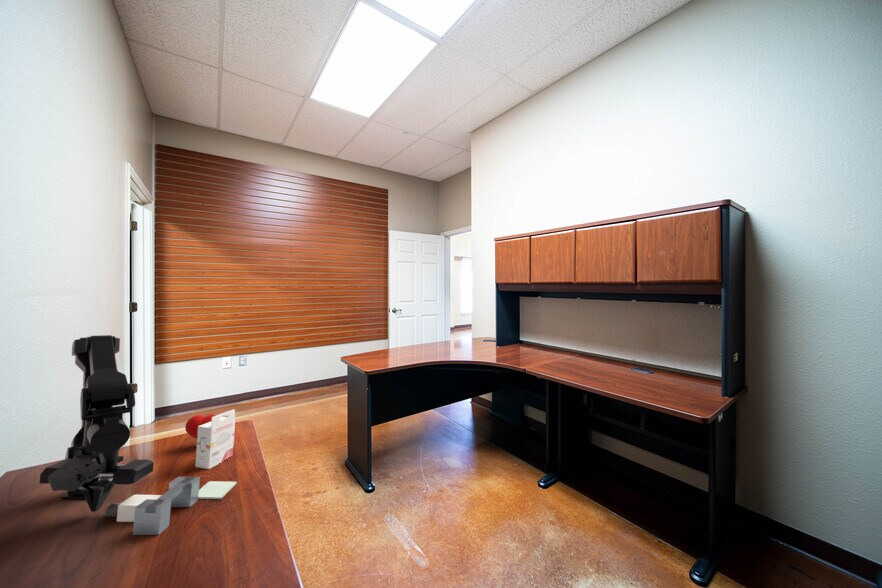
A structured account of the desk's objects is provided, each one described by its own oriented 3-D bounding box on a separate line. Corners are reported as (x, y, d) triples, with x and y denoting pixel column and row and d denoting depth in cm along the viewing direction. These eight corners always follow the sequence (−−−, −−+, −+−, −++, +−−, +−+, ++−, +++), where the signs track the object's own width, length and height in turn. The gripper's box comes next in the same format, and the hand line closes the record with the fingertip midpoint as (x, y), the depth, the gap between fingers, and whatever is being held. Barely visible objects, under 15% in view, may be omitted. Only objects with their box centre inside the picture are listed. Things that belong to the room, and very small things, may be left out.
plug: (101, 521, 69) (103, 505, 69) (118, 509, 73) (120, 494, 73) (146, 521, 70) (147, 505, 70) (160, 510, 74) (162, 494, 74)
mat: (190, 498, 79) (190, 496, 79) (209, 482, 86) (209, 481, 86) (220, 498, 79) (221, 497, 79) (236, 483, 86) (236, 481, 86)
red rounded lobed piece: (179, 453, 101) (182, 420, 101) (187, 443, 107) (189, 413, 108) (215, 449, 105) (218, 417, 105) (220, 440, 111) (222, 411, 111)
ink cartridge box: (219, 454, 101) (223, 406, 102) (233, 456, 100) (237, 408, 101) (193, 467, 93) (198, 415, 94) (208, 470, 92) (212, 417, 93)
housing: (132, 534, 66) (135, 507, 66) (176, 499, 78) (178, 476, 78) (158, 534, 66) (161, 507, 67) (198, 499, 78) (199, 477, 79)
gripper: (10, 453, 63) (2, 536, 62) (113, 455, 64) (105, 536, 64) (71, 431, 74) (65, 501, 74) (158, 433, 75) (152, 502, 75)
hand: (95, 510), depth 71 cm, fingers closed
